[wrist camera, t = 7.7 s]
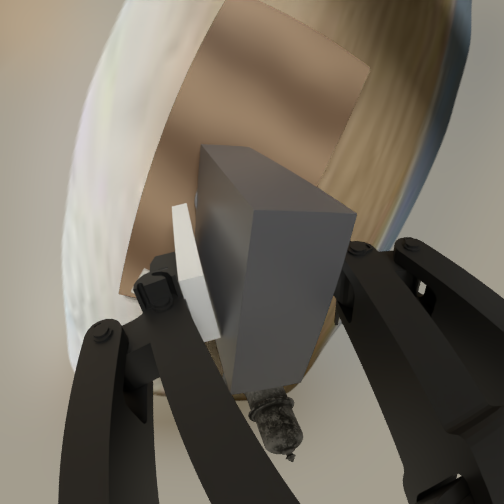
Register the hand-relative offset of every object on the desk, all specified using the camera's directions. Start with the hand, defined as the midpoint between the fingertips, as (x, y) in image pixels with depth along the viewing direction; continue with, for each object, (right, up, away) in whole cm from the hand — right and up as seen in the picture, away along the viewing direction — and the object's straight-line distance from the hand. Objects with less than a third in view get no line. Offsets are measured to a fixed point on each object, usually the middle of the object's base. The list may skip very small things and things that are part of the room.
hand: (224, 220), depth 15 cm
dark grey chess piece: (+1, -10, +11) cm, 15 cm away
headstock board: (0, +4, +3) cm, 4 cm away
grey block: (-1, 0, +2) cm, 3 cm away
